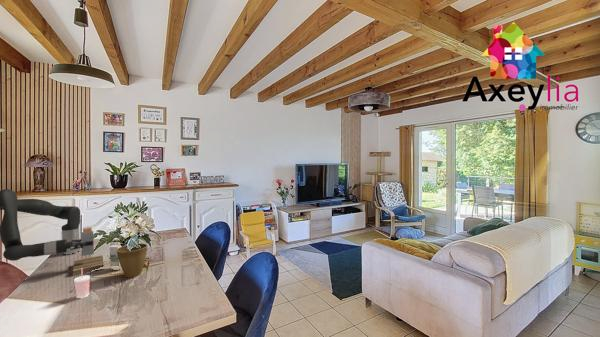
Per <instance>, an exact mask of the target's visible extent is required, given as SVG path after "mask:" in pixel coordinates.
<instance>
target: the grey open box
mask: <svg viewBox="0 0 600 337" xmlns="http://www.w3.org/2000/svg"><path fill="white" fill-rule="evenodd" d="M80 233H81V236H80V237H81V238H80V239H81V241H82V242H90V241H93V245H89V246H85V247H83V248H81V257H85V256H90V255H94V254H95V250H94V247H95V245H94V243H95V241H94V238H93V239H90V238H91V237H92V236H93V237H94V230H92V233H86V234H83V231H82V232H80Z"/></svg>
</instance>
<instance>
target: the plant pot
mask: <svg viewBox="0 0 600 337" xmlns="http://www.w3.org/2000/svg"><path fill="white" fill-rule="evenodd" d="M137 244H138V245H140V246H141V248H142V249H139V248H136V247H134V248H132V249H131V251H129V250H128V249H127V245H126V244H125V246H123V247H120V248H118V249H117V255H118V259H119V263H120V265H121V268H122V269H121V270H122V272H123V274H124V276H125V277H126V278H129V279H130V278H136V277H139V276H140V275H141V274H142V271H143V269H144V265H145V262H146V257H147V251H148V244H147V243H137Z"/></svg>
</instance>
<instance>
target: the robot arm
mask: <svg viewBox="0 0 600 337" xmlns="http://www.w3.org/2000/svg"><path fill="white" fill-rule="evenodd" d="M0 211H3V215H2V216H3V217H2V220H1V222H0V240H1V243H2V245H3V246H4V251H3V253H2V255H3V258H4V259H6V260H8V261H11V262H12V261H13V262H14V261H19V260H20V259H23V258H31V257H32V258H35V257H36V258H37V257H42V256H50V255H51V256H53V255H58V254H62V255H63V254H71V255H73V254H72V253H75V254H77V253H76V252H78V251H81V249H82V248H83V247H85V246H89V245H93V241H90V242H82V241H81V238H80V224H81V210H80V208H79V207H78V206H73V205H71V206H69V205H67V206H62V205H55V204H54V203H51V202H50V201H47V200H43V199H38V198H19V199H18V196H17V193H16V192H15V191H14V190H12V189H9V188H4V189H1V190H0ZM18 212H20V213H24V214H30V215H35V216H36V215H37V216H48V217H53V218H57V219H60V220H67V222H66V224H64V225H62V226H61V239H58V240H51V241H46V242H39V243H34V244H24V245H23V243H22V239H21V233H20V229H19V224H18V222H19V221H18ZM78 253H79V252H78Z"/></svg>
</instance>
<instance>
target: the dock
mask: <svg viewBox="0 0 600 337" xmlns="http://www.w3.org/2000/svg"><path fill="white" fill-rule="evenodd" d="M73 262H74V263H73V268H72V276H73V275H76V276H78V275H77V274H81V268H82V269H83V273H85V274H88V273H87V272H90V273H92V272H91V271H92V270H95V269H98V268H100V267H103V266H104V267H105V265H104V257H103V254H101V255H95V256H90V257H85V258H81V259H80V258H79V259H74V261H73Z"/></svg>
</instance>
